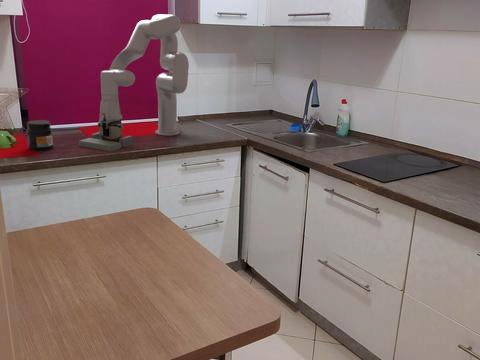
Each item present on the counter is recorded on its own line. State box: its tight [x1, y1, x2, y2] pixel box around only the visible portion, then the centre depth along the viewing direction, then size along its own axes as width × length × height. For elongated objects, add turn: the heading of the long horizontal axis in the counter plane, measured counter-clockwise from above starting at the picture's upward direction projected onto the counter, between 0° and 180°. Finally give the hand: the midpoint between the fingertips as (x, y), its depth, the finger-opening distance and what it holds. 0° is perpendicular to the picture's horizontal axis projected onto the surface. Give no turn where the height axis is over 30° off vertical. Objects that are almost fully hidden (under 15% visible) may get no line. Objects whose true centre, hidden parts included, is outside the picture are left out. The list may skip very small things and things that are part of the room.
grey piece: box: [78, 131, 133, 152], centre depth 224 cm, size 16×18×4 cm
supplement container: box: [26, 119, 54, 152], centre depth 213 cm, size 10×10×12 cm
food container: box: [97, 120, 124, 143], centre depth 227 cm, size 12×6×10 cm, turn 82°
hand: (111, 134), depth 227 cm, fingers open, 7 cm apart
